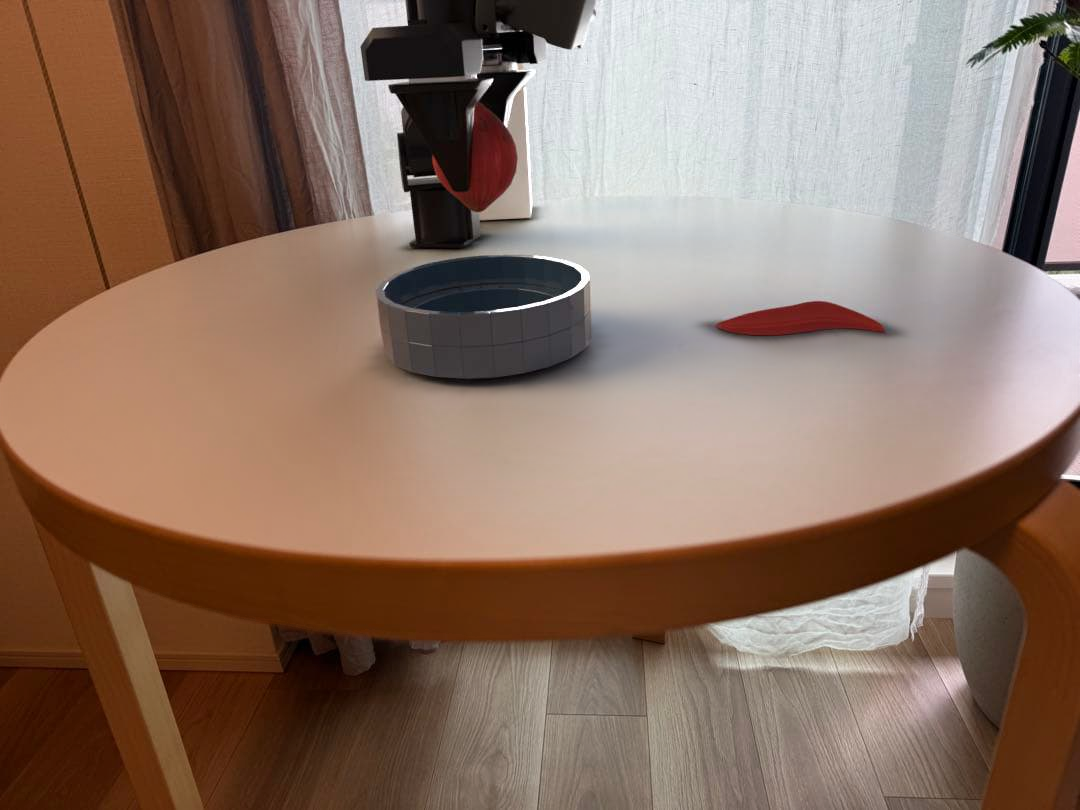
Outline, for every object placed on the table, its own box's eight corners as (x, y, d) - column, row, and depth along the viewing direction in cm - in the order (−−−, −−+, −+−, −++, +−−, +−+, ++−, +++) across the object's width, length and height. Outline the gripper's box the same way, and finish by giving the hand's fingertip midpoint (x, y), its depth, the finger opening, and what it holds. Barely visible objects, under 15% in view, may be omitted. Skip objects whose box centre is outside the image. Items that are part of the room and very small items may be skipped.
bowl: (347, 380, 56) (336, 310, 54) (432, 311, 70) (426, 253, 68) (562, 393, 52) (559, 318, 50) (609, 317, 66) (608, 256, 64)
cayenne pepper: (884, 322, 61) (887, 297, 61) (886, 343, 57) (889, 317, 57) (721, 313, 65) (722, 290, 64) (712, 332, 61) (713, 307, 60)
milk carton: (531, 219, 102) (521, 53, 95) (474, 221, 103) (460, 56, 95) (532, 208, 109) (523, 51, 101) (478, 210, 109) (466, 55, 101)
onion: (534, 205, 59) (527, 86, 56) (497, 222, 55) (488, 93, 51) (464, 203, 62) (454, 89, 59) (423, 218, 57) (409, 95, 54)
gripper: (539, -107, 41) (554, 211, 47) (612, -71, 57) (615, 161, 63) (338, -86, 44) (377, 210, 50) (461, -57, 60) (479, 164, 66)
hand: (476, 183), depth 57 cm, fingers closed on onion, 6 cm apart
